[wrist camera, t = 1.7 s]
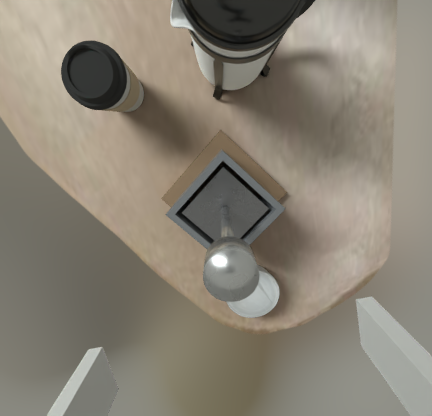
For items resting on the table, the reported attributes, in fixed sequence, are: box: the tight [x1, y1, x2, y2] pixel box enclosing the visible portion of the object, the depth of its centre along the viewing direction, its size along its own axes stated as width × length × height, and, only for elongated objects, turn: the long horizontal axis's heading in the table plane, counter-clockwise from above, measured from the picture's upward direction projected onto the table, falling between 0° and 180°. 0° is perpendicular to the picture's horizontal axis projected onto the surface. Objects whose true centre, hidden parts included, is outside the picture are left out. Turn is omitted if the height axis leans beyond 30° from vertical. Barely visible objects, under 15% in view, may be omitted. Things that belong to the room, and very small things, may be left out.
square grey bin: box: [161, 130, 287, 249], centre depth 47 cm, size 18×18×14 cm
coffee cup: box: [61, 41, 144, 112], centre depth 42 cm, size 9×9×15 cm
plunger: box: [182, 167, 269, 302], centre depth 31 cm, size 10×10×22 cm
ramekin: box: [227, 265, 280, 318], centre depth 56 cm, size 11×11×5 cm
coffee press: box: [170, 0, 315, 99], centre depth 33 cm, size 17×16×30 cm
